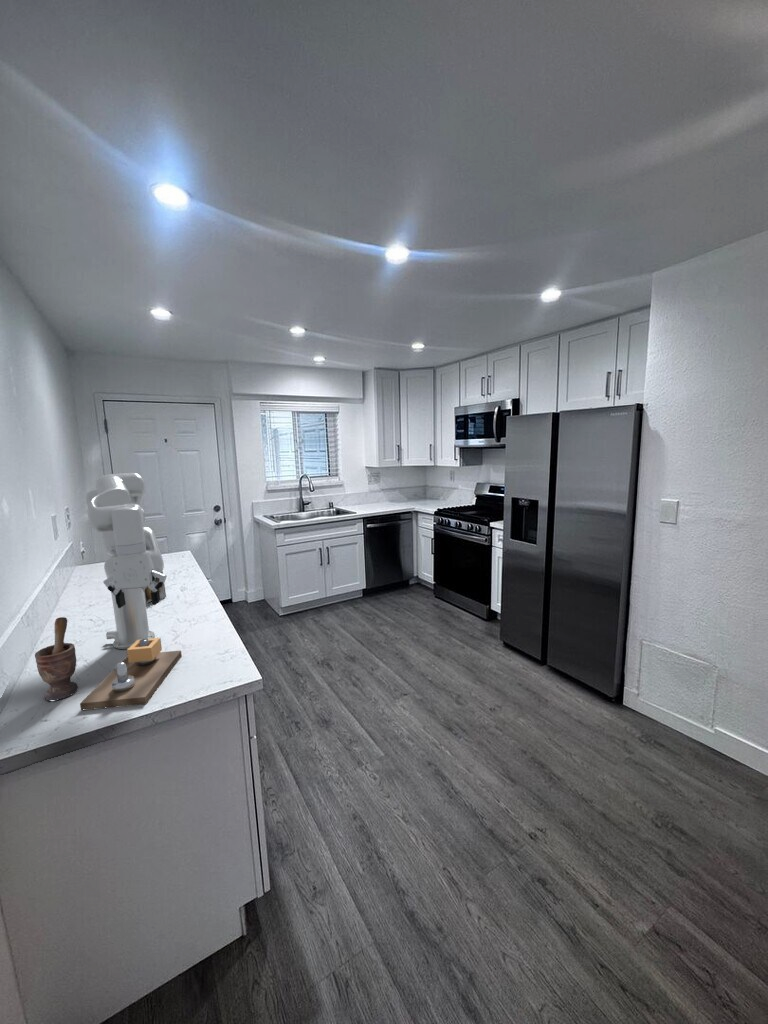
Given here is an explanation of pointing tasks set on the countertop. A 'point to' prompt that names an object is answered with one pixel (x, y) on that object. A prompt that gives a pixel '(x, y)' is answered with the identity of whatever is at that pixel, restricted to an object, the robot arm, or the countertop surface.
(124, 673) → the silver round flared piece
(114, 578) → the robot arm
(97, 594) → the countertop surface
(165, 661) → the board
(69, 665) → the mortar and pestle
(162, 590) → the coffee box
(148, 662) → the shiny metal knob
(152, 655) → the collar
